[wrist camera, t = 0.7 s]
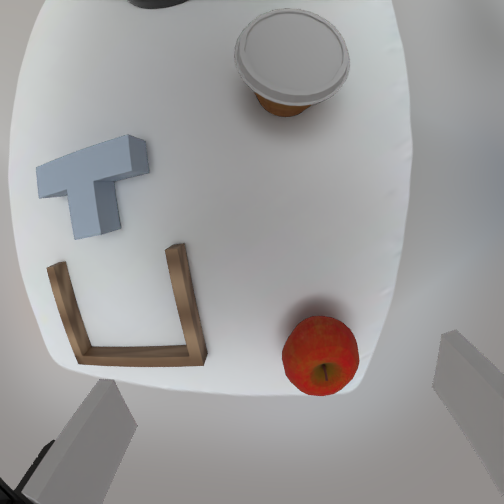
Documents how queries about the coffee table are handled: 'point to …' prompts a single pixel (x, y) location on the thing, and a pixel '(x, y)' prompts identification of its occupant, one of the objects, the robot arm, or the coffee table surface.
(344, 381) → the apple
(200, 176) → the coffee table surface
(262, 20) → the disposable coffee cup
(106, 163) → the t block
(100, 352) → the walnut fence
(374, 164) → the coffee table surface
